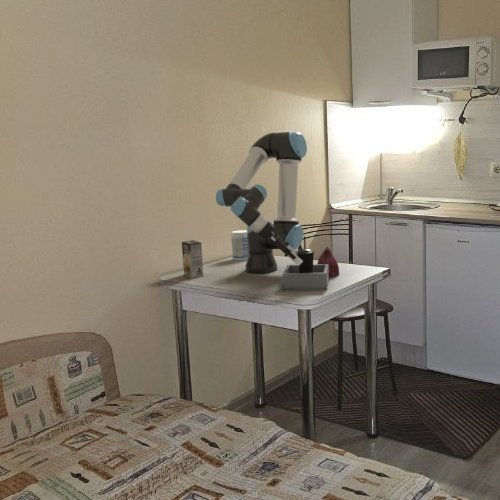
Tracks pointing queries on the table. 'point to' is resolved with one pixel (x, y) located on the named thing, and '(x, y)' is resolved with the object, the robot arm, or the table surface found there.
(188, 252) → the coffee box
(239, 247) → the supplement tub
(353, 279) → the table surface
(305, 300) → the table surface
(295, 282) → the bin
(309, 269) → the drinking cup
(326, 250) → the vegetable
